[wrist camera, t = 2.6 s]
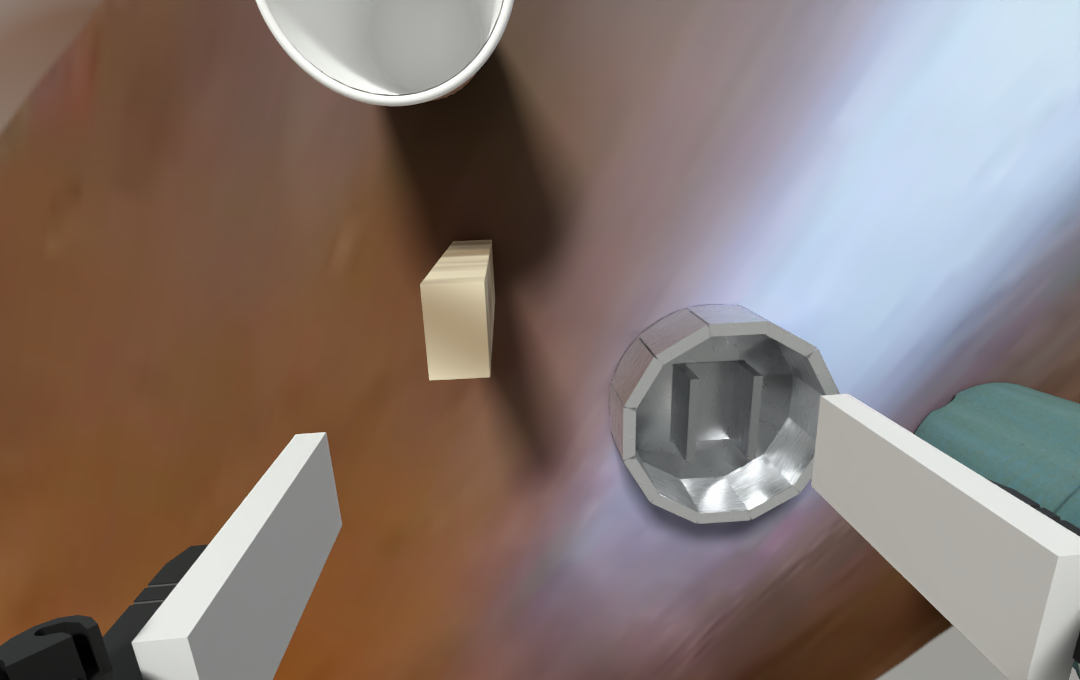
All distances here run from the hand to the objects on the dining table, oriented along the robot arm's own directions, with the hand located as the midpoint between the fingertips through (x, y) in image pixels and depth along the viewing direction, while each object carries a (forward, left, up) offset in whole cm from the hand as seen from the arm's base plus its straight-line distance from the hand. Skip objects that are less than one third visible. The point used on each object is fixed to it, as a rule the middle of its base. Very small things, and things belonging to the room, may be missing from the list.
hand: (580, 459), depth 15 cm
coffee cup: (-15, -6, -24) cm, 29 cm away
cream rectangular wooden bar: (-1, -4, -24) cm, 24 cm away
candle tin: (+9, +12, -24) cm, 28 cm away
